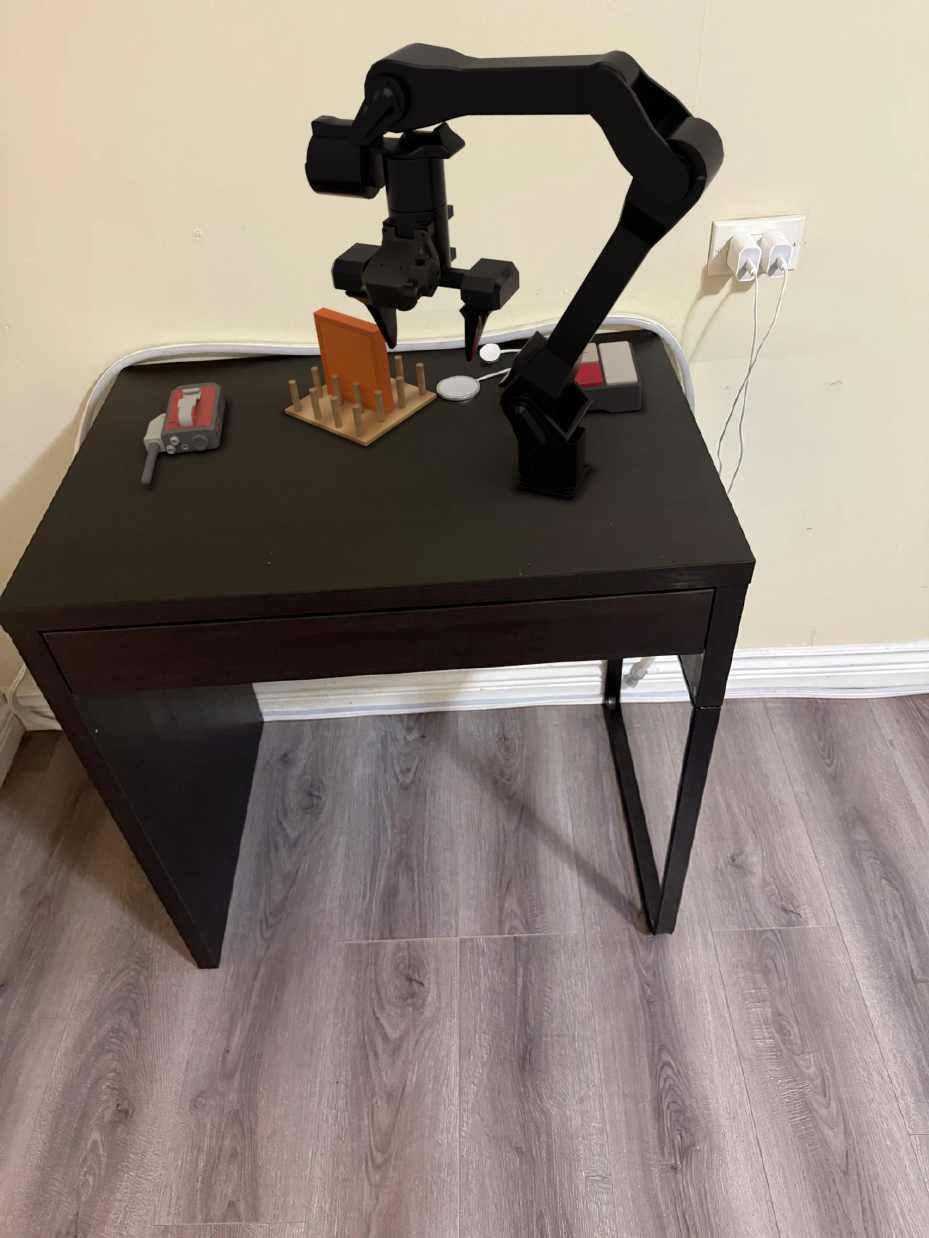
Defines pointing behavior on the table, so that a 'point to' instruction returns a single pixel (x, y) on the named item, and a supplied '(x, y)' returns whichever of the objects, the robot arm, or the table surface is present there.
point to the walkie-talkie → (186, 423)
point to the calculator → (610, 377)
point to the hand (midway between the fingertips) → (431, 353)
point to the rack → (359, 406)
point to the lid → (354, 357)
